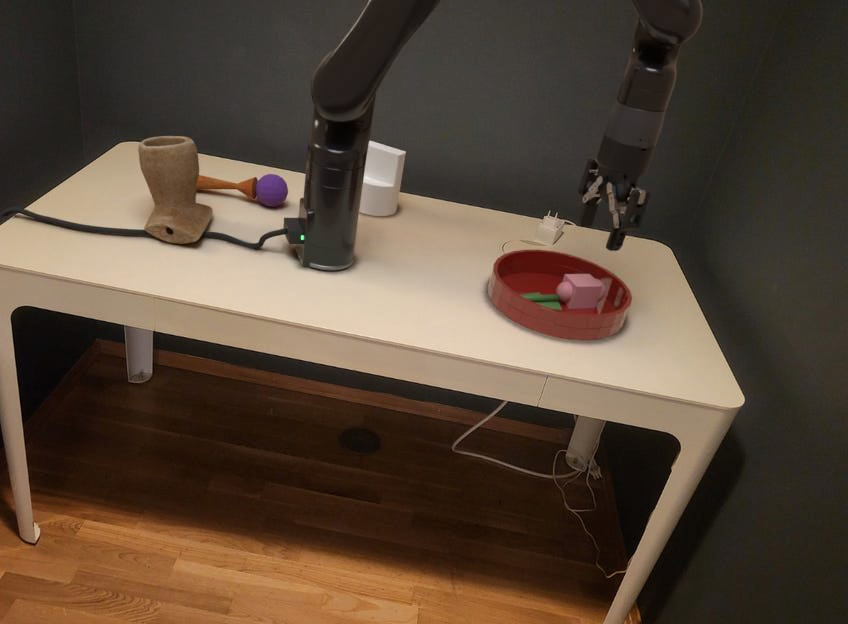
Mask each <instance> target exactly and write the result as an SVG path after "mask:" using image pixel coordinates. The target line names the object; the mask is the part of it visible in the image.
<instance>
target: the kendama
mask: <svg viewBox="0 0 848 624" xmlns="http://www.w3.org/2000/svg"><path fill="white" fill-rule="evenodd" d="M196 190H236V191H238V192H240V193H242V194H243V195H245V196H247V197H249V198H250V199H251V200H254V201H255V200H256V199H258V200H259V202H260V203H261V204H263V205H264V206H266V207H277V206H281V205H282V204H283V203H284V202H285V201H286V199H287V197H288V194H289V188H288V184H287V182H286V181H285V179H284V178H283V177H281V176H280V175H278V174H274V173H268V174H265V175H263V176H262V177H260V178H259V179H258V177H257V176H254V177H252V178H248V179H246V180H243V181H240V182H237V183H236V182H232V181H228V180H224V179H220V178H214V177H211V176H205V175H202V174H199V177H198V182H197V188H196Z"/></svg>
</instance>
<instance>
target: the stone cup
mask: <svg viewBox="0 0 848 624" xmlns="http://www.w3.org/2000/svg"><path fill="white" fill-rule="evenodd" d="M137 149H138V150H137V151H138V159H139V167H140V170H141V173H142V175H143V178H144V180H145V182H146V185H147V187H148V190H149V193H150V195H151V198H152V201H153V204H154V205H153V206H154V207H153V210H152V212H151V214H150V215H149V217H148V219H147V221H146V223H145V225H144V226H143V230H145V231H147V232H148V233H150V234H152V235H151V236H152V237H155V238H157V239H159V240H161V241H164V242H167V243H170V244H178V245H180V244H189V243H195V242H197V241H198V240H200V238H201V237H202V236H201V235H202V234H203V232H204V231H206V229H207V227H208V225H209V223H210V222H211V219H212V216H213V212H214V211H213V208H212V206H210V205H207V204H203V203H198V202H197V201H196V199H197V189H196V188H197V182H198V177H199V175H200V163H199V154H198V149H197V145H196V144H195V142H194V140H193V139H192V138H190V137H188V136H183V135H175V136H174V135H161V136H152V137H148V138H144V139H143V140H142V141H140V143H139V145H138V147H137Z"/></svg>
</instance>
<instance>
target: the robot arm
mask: <svg viewBox="0 0 848 624" xmlns="http://www.w3.org/2000/svg"><path fill="white" fill-rule="evenodd" d="M441 1H442V0H365V2H364V3H363V5H362V8H361V10H360V12H359V13H358V15H357V16H356V18H355V20H354V21H353V22H352V25H351V26H350V28H349V29H348V30H347V31H346V32H345V34H344V36H343V37H342V38H341V39H340V41H339V42H338V43H337V45H336V46H335V47H334V49H333V50H331V51H329V53H327V54H326V55H325V56H324V57H323V58H322V59H321V61H320V62H319V64H318V65H317V67H316V68H315V70H314V73H313V75H312V78H311V81H310V83H311V84H310V95H311V100H312V103H313V113H312V121H311V127H310V131H309V136H308V141H307V152H306V164H305V175H304V188H303V197H300V198H299V206H298V217H283V225H282V226H283V227H282V228H280V229H275V230H272V231H268V232H266V233H264V234H262V235H261V236H260V238H259V240H258V242H255V243H253V242H246V241H243V240H241V239H239V238H236V237H234V236H231V235H229V234H227V233H223V232H217V231H209V230H204V232H203V234H202V235H201V237H202V238H203V237H204V238H215V239H221V240H224V241H228V242H229V243H233V244H235V245H237V246H241V247H243V248H248V249H251V250H258V249H261V248H262V247H263V246H264V244H265V242H266V241H267V240H268V239H271V238H274V237H279V236H283V235H284V236H285V238H286V240H287V243H288V245H295V251H296V255H297V258H298V259H299V261H300V264H301V266H302V267H310V268H313V269H316V270H322V271H340V270H345V269H347V268H349V267H351V266H352V265H353V263H354V258H355V257H354V256H355V255H354V254H355V246H356V245H355V244H356V239H357V231H358V223H359V216H360V212H359V210H360V202H361V195H362V187H363V180H364V173H365V165H366V157H367V151H368V146H369V140H370V141H371V132H372V125H373V118H374V112H375V104H376V98H377V97H376V96H377V91H378V90H379V88H380V86H381V85H382V82H383V80H384V79H385V77H386V75H387V73H388V72H389V70H390V68H391V67H392V65H393V63H394V61H395V60H396V58H397V56H398V55H399V54H400V52H401V51H402V49H403V48H404V46H405V45H406V44H407V42H408V41H409V40H410V39H411V38H412V36H413V35H414V34H415V33H416V32H417V31H418V30H419V28H421V26H422V25H423V24H424V23H425V21H426V20H427V19H428V17H429V16H430V15H431V14H432V13H433V11H434V10H435V9H436V8H437V6H438V5H439V4H440V2H441ZM629 1H630V2H631V5H632V7H633V8H634V10H635V12H636V14H637V19H636V24H635V26H634V32H633V38H632V41H631V47H630V53H629V59H628V62H627V65H626V68H625V70H624V73H623V77H622V80H621V83H620V86H619V88H618V93H617V95H616V99H615V102H614V104H613V107H612V109H611V111H610V113H609V116H608V119H607V123H606V126H605V128H604V129H605V130H604V133H603V136H602V138H601V143H600V145H599V149H598V152H597V156H596V158H589V159H588V160H587V162H586V165H585V168H584V171H583V174H582V177H581V180H580V184H579V187H578V189H577V193H578V195H580V196H582V200H581V201H582V203H583V204H582V208H581V211H580V215H579V219H578V222H577V223H578V225H579V226H580V227H582V228H590V227H591V226H593V223H594V220H595V217H596V214H597V212H598V207H599V203H600V202H601V201H603V200H604V201H605V203H606V204H607V205H609V206H608V208H609V213H610V214H612V219H613V220H612V221H613V222H612V223H613V226H611V229H610V232H609V235H608V237H607V240H606V244H605V249H606V250H608V251H610V252H614V251H615V252H616V251H619V250H620V249H622V248H623V245H624V242H625V239H626V236H627V233H628V231H629V230H633V231H634V230H635V231H638V230H640V229H641V225H642V222H643V220H644V215H645V212H646V211H647V210H646V209H647V206H648V204H649V200H650V196H651V192H650V191H651V190H648V189H641V188H640V187H639V186H638V185H639V178H640V177H641V176H642V175H644V174H645V173H647V172H648V169H649V166H650V163H651V162H652V161H651V160H652V159H653V156H654V152H655V149H656V147H657V144H658V140H659V137H660V135H661V132H662V128H663V125H664V120H665V115H666V112H667V108H668V105H669V102H670V100H671V97H672V94H673V91H674V88H675V84H676V80H677V74H678V71H677V62H678V57H679V55H680V52H681V49H682V45H683V43H686V42H687V41H689V40H690V39H691V38H693V36H694V35H695V34H696V33H697V31H698V29H699V28H700V26H701V23H702V21H703V5H702V1H701V0H629ZM588 183H590V185H589V186H588ZM624 204H625V206H623V205H624ZM11 214H21V215H23V216H26V217H29V218H31V219H34V220H37V221H41V222H45V223H49V224H53V225H57V226H61V227H66V228H69V229H75V230H80V231H86V232H92V233H93V232H94V233H100V234H101V233H103V234H111V235H112V234H113V235H127V236H128V235H129V236H153V235H152V234H150V233H148V232H147V231H145V229H138V228H137V229H135V228H134V229H133V228H121V227H120V228H119V227H106V226H97V225H89V224H83V223H77V222H72V221H69V220H63V219H60V218H57V217H56V218H55V217H52V216H47V215H43V214H39V213H36V212H33V211H31V210H29V209H25V208H23V207H19V206H11V207H7V208H6V209H4V210H3V211H2V212H1V213H0V216H1V217H7V216H9V215H11ZM621 214H623V217H622V215H621ZM633 216H635V217H634V220H633ZM622 218H623V219H622Z"/></svg>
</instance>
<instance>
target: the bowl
mask: <svg viewBox="0 0 848 624" xmlns="http://www.w3.org/2000/svg"><path fill="white" fill-rule="evenodd" d="M565 274H590V275H591V276H593V277H594V278H595V279H598V280H600V281H602V282H603V284H604V285H605V289H606V293H605V296H604V298H603V299H602V300H601V301H600V302H598V303H597V304H596V307H595V308H586V309H569V308H568V307H567V306H566V304H565V303H564V302H563V301H551V302H559V304H560V306H561V308H562V311H558V310H554V309H551V308H548V307H545V306H542V305H539V304H537V303H534V302H532V301H530V300H527V299H526V298H524V297H522V296H520V295H524V294H531V293H537V292H539V293H540V294H542V295H556V289H557V287H558V285H559V284H561V283H562V281H563V278H564V275H565ZM487 285H488V286H487V295H488V298H489V300H490V302H491V303H492V305H493V306H494V307H495V309H497V310H498V311H499V312H500V313H501V314H502V315H503V316H505V317H506V318H508V319H509V320H511V321H513V322H514V323H516V324H518V325H519V326H522V327H524V328H526V329H528V330H530V331H533V332H535V333H540V334H541V335H546V336H550V337H553V338H558V339H563V340H571V341H572V340H573V341H595V340H597V341H598V340H602V339H605V338H608V337H611V336H613V335H615V334H617V333H618V332H619V331H620V330H621V329H622V328H623V326H624V324H625V320H626V318H627V315H628V312H629V310H630V308H631V305H632V301H633V297H632V292H631V290H630V288H629V287H628V285H627V284H626V283H625V282H624V281H623V280H622V279H621V278H619V277H618V275H616V274H615V273H613V272H611V271H610V270H609V269H607V268H605V267H603V266H601V265H599V264H597V263H594V262H592V261H590V260H587V259H585V258H582V257H580V256H576V255H572V254H569V253H564V252H560V251H555V250H547V249H520V250H513V251H509V252H507V253H504V254H502V255H500V256H499V257H498V258H497V259H496V260H495V262H494V263H493V266H492V270H491V272H490V277H489V281H488V284H487Z"/></svg>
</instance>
